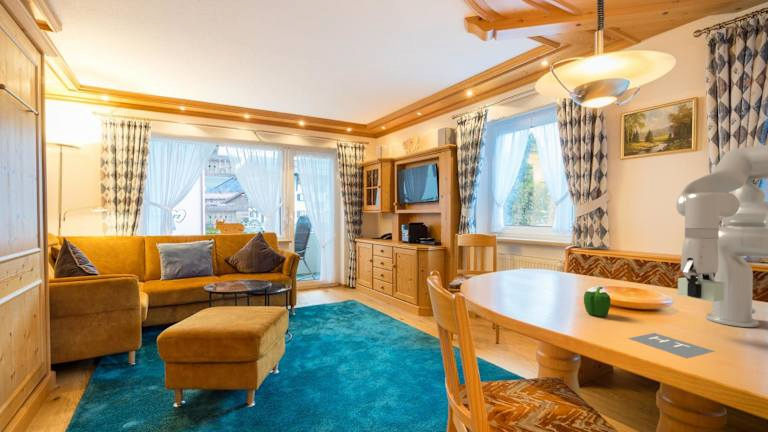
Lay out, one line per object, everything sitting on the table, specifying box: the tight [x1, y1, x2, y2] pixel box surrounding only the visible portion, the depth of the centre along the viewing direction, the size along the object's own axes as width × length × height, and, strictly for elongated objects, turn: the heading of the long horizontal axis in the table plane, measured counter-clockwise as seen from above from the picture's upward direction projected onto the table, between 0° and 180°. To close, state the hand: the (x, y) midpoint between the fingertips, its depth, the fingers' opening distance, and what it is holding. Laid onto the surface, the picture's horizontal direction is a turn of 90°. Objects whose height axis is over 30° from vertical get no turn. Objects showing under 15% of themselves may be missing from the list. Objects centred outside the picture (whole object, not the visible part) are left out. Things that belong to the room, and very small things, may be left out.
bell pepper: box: [583, 285, 612, 318], centre depth 127 cm, size 8×8×10 cm
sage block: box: [677, 276, 724, 302], centre depth 106 cm, size 5×9×5 cm, turn 22°
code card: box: [627, 332, 715, 359], centre depth 100 cm, size 12×15×1 cm
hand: (700, 295), depth 106 cm, fingers closed on sage block, 5 cm apart
